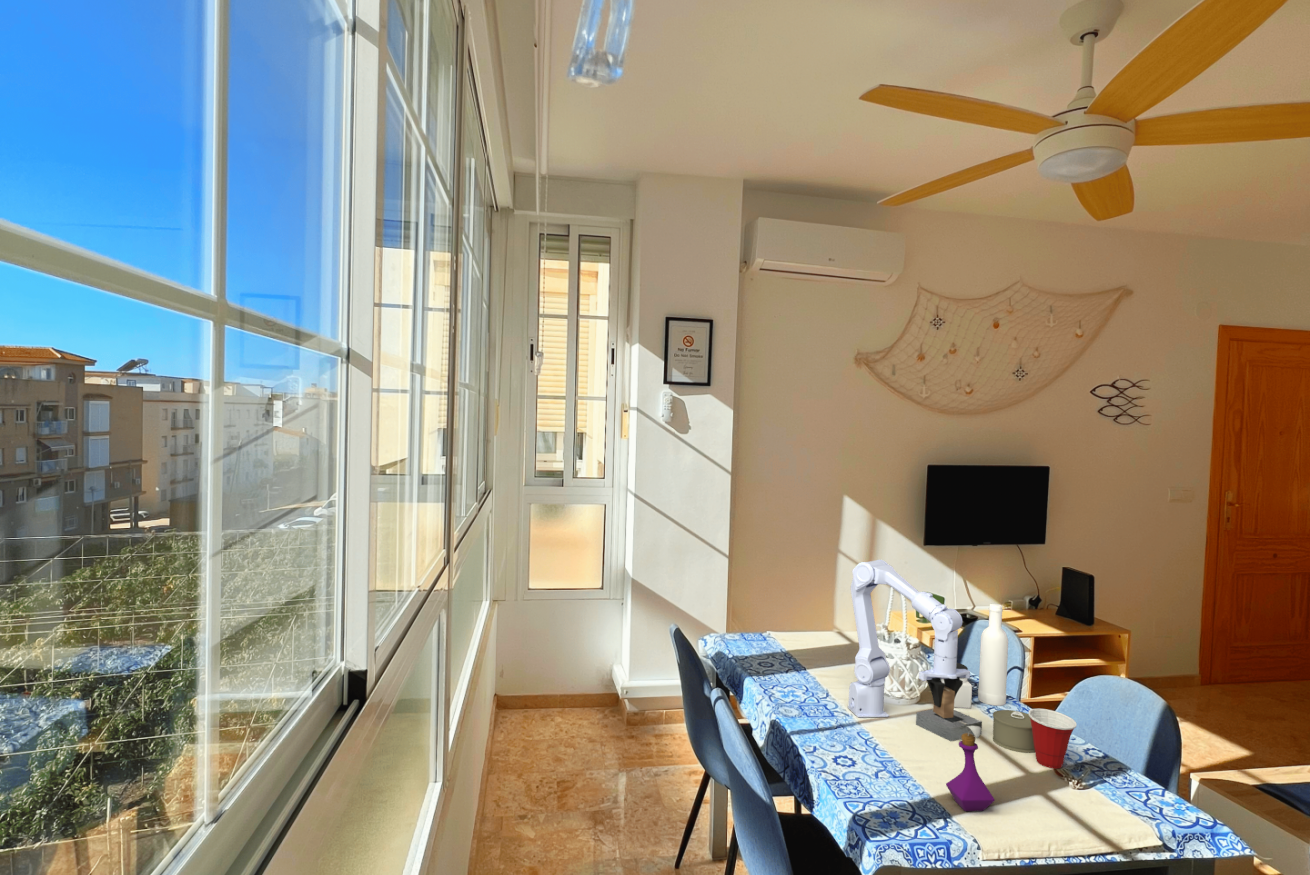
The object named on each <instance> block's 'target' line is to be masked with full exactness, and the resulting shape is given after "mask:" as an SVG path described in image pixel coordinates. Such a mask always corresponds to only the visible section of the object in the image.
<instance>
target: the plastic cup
mask: <svg viewBox="0 0 1310 875" xmlns="http://www.w3.org/2000/svg"><path fill="white" fill-rule="evenodd" d="M1028 714H1029V716H1030V719H1031V726H1032V732H1033V741H1034V748H1035V759H1036V763H1038V765H1040V766H1042V767H1045V768H1049V769H1061V768H1062V767H1063V765H1064V762H1065V756H1066V755H1067V751H1068V748H1069V742H1070V740H1071V736H1072V733H1073V731H1074V730H1075V729H1076V728H1077V722H1076V720H1075V719H1073V718H1072V717H1070V716H1068V715H1066V714H1064V713H1061V712H1059V711H1056V710H1052V709H1046V708H1031V709H1030V710H1028Z"/></svg>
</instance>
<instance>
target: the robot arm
mask: <svg viewBox="0 0 1310 875" xmlns="http://www.w3.org/2000/svg"><path fill="white" fill-rule="evenodd" d="M851 572H852V580H851V583H850V594H851V600H852V607H853V615H854V622H855V626H856V633H857V638H858V639H857V640H858V646H859V649H858V652H857V653H856V655H855V657H854V659H855V660H854V661H855V664H854V670H853V671H854V676H855V678H856V679H857V680H856V681H853V682H850V684H849V688H848V705H847V708H848V709H849V710H850V711H851V712H852V713H853V714H854V715H855V716H856V718H889V717H890V714H888V713H887V712H886V711H885V710H884V705H885V704H884V703H885V702H884V701H885V700H884V699H885V682H886V678H887V677H888V676H889V674H890V671H891V667H890V663H889V662H888V660H887V658H886V655H885V652H884V650H882V649H881V648H880V647H879V646H880V645H879V640H878V634H877V633H878V632H877V628H876V627H877V626H876V620H875V614H874V607H873V603H872V602H873V601H872V595H871V593H872V592H873V590H874V589H876V587H877V586H878V585H887V586H890V588H892V589H894V590H895V591H896V592H898V593H899V594H901V595H902V596H904V597H905V598H906V599H908V600H909V601H910V602H911V603H910V604H911V606H912V609H914V610H915V611H916V612H917V613H919V614H920V615H921V616H922V617H923V618H925V619H926V620H927V621H929V622H930V624H931V626H932V628H933V630H934V649H933V650H934V652H933V668H931V669H927V670H923V671H918V679H919V680H921V681H923V682H925V681H926V682H927V685H928V687H929V690H930V692H931V697H932V701H933V706H934V705H936V706H937V707H941V703H942V694H943V690H944V687H945V686H946V687H948V688H950V689H951V690H953V691H955V696H956V694H957V692H958V690H959V689H960V687H961V686H962V685H963V681H962V680H960V678H967V679H970V678H971V671H970V670H969V669H968V670H966V669H956V663H958V662H957V660H958V641H959V640H958V639H959V638H958V635H959V630H960V629H961V628H962V626H963V617H962V615H961V614H960V613H959V612H958V611H957V609H955V608H948V605H946V604H943V603H941V602H940V601H939V600H937V599H936V598H934V597H933V596H934V595H933V593H931V592H927V591H918V589H916V588H915V587H914V586H913V585H912V584H910V582H908V581H907V579H905V578H904V577H903V576H901V574H899V573H898V572H897V571H896V570H895V568H894V567H893V566H892V565H890V564H888V562H887V561H885V560H884V559H876V560H871V561H863V562H859V563H857V565H855V567H854V568H853V569H852V571H851ZM941 679H944V683H942V682H941ZM954 699H955V697H954Z"/></svg>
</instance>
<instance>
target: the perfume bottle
mask: <svg viewBox="0 0 1310 875" xmlns="http://www.w3.org/2000/svg"><path fill="white" fill-rule="evenodd" d="M966 729H967V730H968V733H965V734H962V735H961V738H962V739H961V740H960V741H959V742H958V746H959V748H961V750H962V751H963V753H964V766H963V769H962V771H961V772H960V773H959V774H957V776H955V777H954V778H952V779H951V780H949V781H948V782H946V783H945V784H946V785H945V786H946V787H947V789H948V791H949V793H950V795H951V796H952V797H953V800H954V801H955V803H956V804H957V805H958V806H959V807H960V808H961V809H962V810H963V811H964V812H983V811H985V810H986V809H987V808H988V807H989V806H990V805H991V804H993V803H994V802H995V801H996V799H995V798H994V796H993V795H992V793H991V791H990V790H989V789H988V788H989V787H987V786H986V784H985V782H984V781H983V779H982V777H981V776H980V775H979V772H978V769H977V766H976V762H975V752H976V750H978V749H979V746H978V744H977V743H976V739H977V740H978V739H979V738H980V731H981V728H980V727H979V726H966ZM971 730H972V732H973V734H974V735H975V736H974V735H972V734H969V732H970V731H971Z"/></svg>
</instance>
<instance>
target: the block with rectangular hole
mask: <svg viewBox="0 0 1310 875" xmlns="http://www.w3.org/2000/svg"><path fill="white" fill-rule="evenodd" d="M915 716H916V717H915V725H916V726H917V727H919V728H922V729H924V730H926V731H928V732H929V733H930V732H931V733H932V734H934V735H937V736H939V737H940V738H943V739H944V740H947V741H949V742H955V741H959V740H962V738H961V735H962V734H965V733H968V730H967V729H966V726H979V727H980V728H981V731H980V735H982V730H983V729H982V726H983V721H982V720H980V719H977V718H974V717H972V716H969V715H967V714H965V713H963V712H961V711H958V710H956V709H954V715H953V718H943V717H941V716H939V715H938V714H936V713H935V712H933V708H931V709H926V710H922V711H917V712H916V714H915ZM969 734H972V735H974V734H973V732H972V730H971V731H970V732H969ZM974 736H975V735H974Z"/></svg>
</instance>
